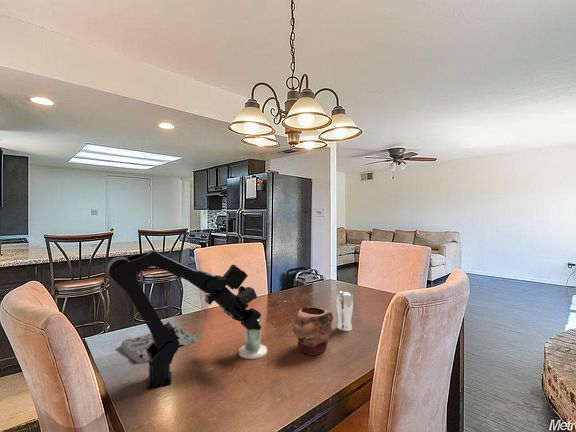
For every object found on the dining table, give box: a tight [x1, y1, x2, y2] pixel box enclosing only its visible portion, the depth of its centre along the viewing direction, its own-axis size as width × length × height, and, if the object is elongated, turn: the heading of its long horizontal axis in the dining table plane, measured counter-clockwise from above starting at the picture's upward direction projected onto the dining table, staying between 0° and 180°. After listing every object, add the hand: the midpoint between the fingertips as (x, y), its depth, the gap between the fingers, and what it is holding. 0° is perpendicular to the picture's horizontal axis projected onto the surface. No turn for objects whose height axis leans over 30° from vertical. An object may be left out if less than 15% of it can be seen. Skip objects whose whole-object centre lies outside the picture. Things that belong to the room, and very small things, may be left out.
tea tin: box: [244, 317, 262, 351], centre depth 101 cm, size 6×6×10 cm
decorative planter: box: [292, 306, 334, 356], centre depth 105 cm, size 20×12×14 cm, turn 138°
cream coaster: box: [238, 343, 268, 360], centre depth 102 cm, size 10×10×1 cm
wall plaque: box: [120, 325, 200, 364], centre depth 108 cm, size 24×19×4 cm
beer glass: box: [336, 290, 354, 332], centre depth 123 cm, size 7×7×15 cm
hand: (256, 326), depth 102 cm, fingers closed on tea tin, 5 cm apart
